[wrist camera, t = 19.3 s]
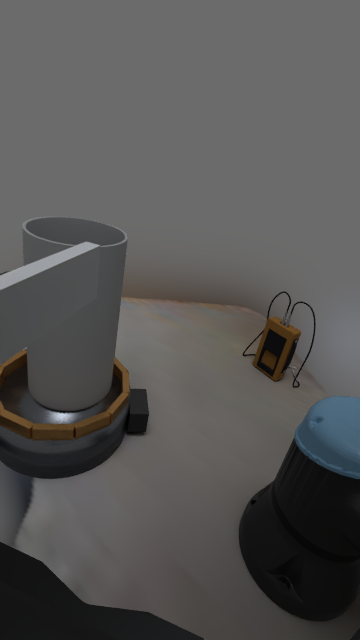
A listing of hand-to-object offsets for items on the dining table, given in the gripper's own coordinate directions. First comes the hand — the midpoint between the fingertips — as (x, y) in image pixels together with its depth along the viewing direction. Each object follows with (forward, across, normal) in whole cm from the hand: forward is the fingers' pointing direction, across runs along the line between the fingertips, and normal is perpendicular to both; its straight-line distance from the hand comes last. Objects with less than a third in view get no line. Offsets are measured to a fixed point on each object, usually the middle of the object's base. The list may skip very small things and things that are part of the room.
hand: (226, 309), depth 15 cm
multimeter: (+59, +12, -38) cm, 71 cm away
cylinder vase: (+24, -22, -31) cm, 45 cm away
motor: (+23, -21, -38) cm, 49 cm away
